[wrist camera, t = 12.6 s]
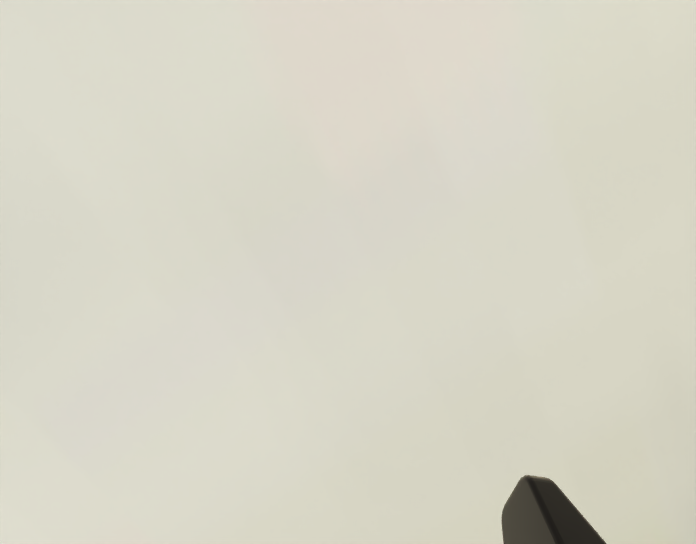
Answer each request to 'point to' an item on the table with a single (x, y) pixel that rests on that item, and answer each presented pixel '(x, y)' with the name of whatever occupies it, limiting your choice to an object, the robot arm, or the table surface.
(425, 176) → the table surface
